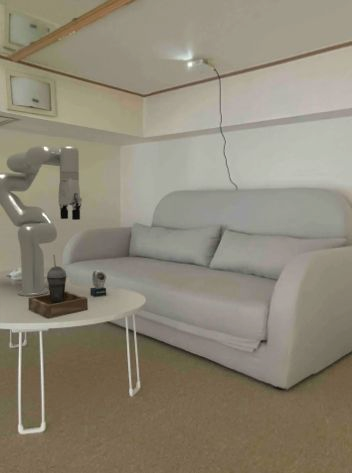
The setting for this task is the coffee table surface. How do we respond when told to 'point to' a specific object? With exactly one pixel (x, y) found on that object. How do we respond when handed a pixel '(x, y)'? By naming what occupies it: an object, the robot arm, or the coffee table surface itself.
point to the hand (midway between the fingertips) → (70, 219)
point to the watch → (98, 284)
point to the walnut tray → (58, 305)
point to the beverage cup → (56, 283)
